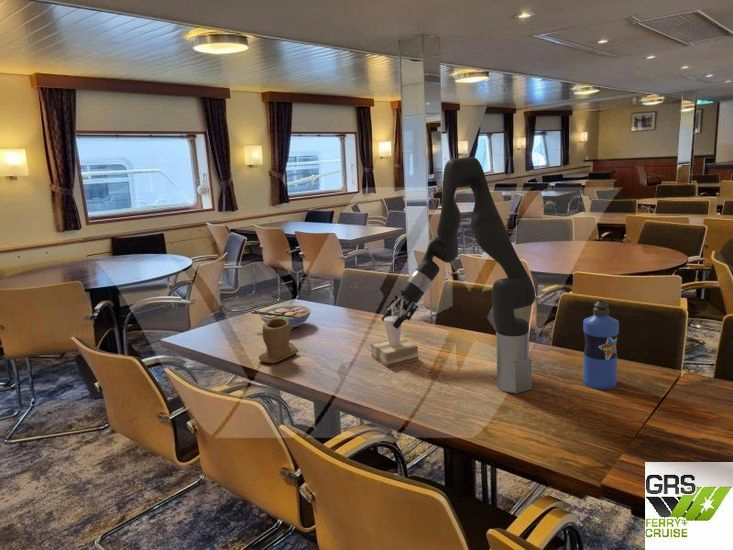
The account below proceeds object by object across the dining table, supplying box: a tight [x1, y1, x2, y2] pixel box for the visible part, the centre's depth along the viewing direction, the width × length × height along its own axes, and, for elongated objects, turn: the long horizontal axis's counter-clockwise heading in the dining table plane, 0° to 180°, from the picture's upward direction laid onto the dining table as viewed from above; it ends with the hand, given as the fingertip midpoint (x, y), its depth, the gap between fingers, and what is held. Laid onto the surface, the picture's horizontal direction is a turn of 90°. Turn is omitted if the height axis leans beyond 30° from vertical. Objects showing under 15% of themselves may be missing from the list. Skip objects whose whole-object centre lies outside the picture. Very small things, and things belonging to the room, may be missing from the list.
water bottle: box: [582, 299, 620, 390], centre depth 156 cm, size 9×9×25 cm
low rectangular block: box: [370, 336, 420, 369], centre depth 189 cm, size 12×12×5 cm
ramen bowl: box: [250, 303, 312, 329], centre depth 233 cm, size 25×23×8 cm
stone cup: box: [258, 318, 299, 364], centre depth 196 cm, size 15×12×15 cm
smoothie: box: [383, 306, 402, 347], centre depth 187 cm, size 6×6×14 cm
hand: (389, 324), depth 186 cm, fingers open, 8 cm apart
